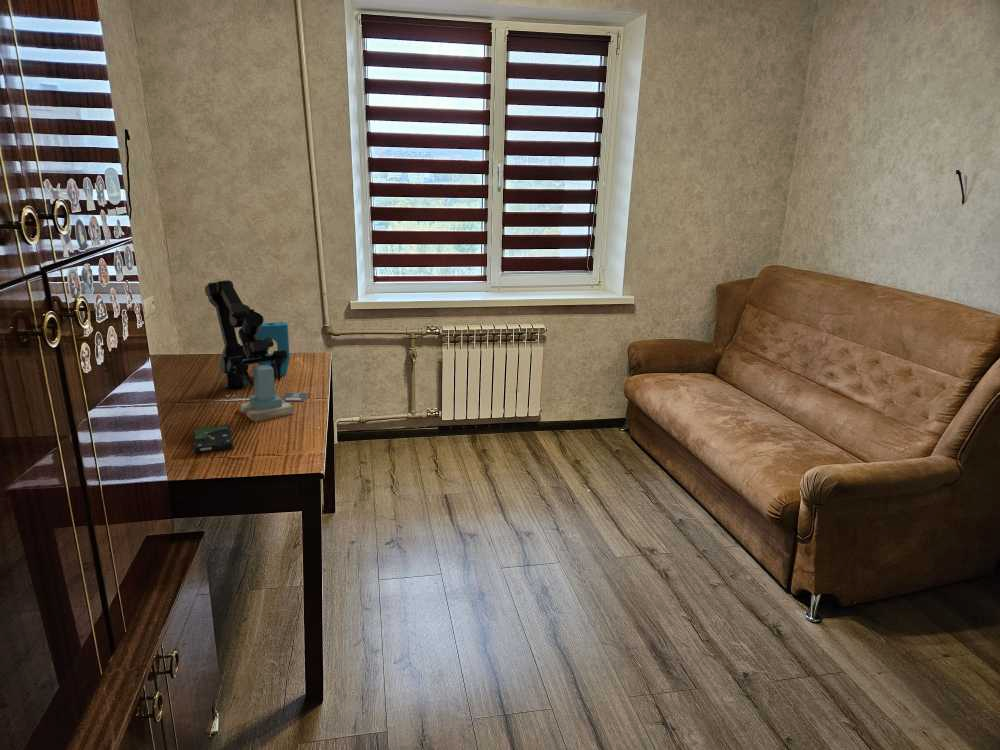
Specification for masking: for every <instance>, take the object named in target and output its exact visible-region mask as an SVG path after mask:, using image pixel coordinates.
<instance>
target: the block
mask: <svg viewBox="0 0 1000 750" xmlns="http://www.w3.org/2000/svg"><path fill="white" fill-rule="evenodd" d="M258 336H259V339H260V340H265V338H267V337H271V338H272V340H273V342H275V343H276V344H277V345H276V347H277V348H276V349H277V350H283V349H284V350H285V351H287V354H288V357H287V359H286V361H285V363H284V364H282V366H281V372H280V377H282V376H286V375H287V373H288V368H289V363H290V360H291V359H290V358H291V357H290V355H291V354H290V341H289V339H290V338H289V324H288V322H287V321H283V322H281V321H279V322H263V324H262V326H261V329H260V332H259V333H258ZM277 350H276V351H277ZM272 354H273V353H269V349H267V354H265V356H269V355H272ZM257 364H258V366H261V365H267V364H268V365H270V366H271V367H272V368H273V365H274V364H272V361H269V362H262V363H257ZM273 370H274V369H273ZM274 375H276V374H275V372H274Z"/></svg>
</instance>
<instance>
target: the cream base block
mask: <svg viewBox="0 0 1000 750" xmlns="http://www.w3.org/2000/svg"><path fill="white" fill-rule="evenodd" d="M238 408H239V411H240V412H241V413H243V415H245V416H247V417H248V418H249V419H250V420H252V421H253V422H254V423H258V422H262V421H266V420H271V419H274V418H280V417H283V416H288V415H292V414H295V413H294V406H293V405H291V404H290V403H289V402H288V401H284V400H282V406H281V407H275V408H270V409H264V410H259V411H257V410H256V409H255V408H254V407H253V406H252V405H251V404H250V400H249V401H244V402H239V403H238Z"/></svg>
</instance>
